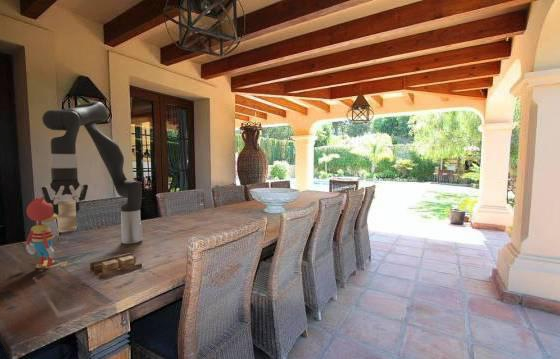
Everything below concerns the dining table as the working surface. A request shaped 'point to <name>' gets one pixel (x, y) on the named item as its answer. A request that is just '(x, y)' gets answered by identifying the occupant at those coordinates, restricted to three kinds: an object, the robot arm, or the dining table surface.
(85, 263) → the dining table surface
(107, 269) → the offcut
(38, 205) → the toy
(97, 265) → the rack
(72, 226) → the long beige rectangular prism
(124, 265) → the offcut
